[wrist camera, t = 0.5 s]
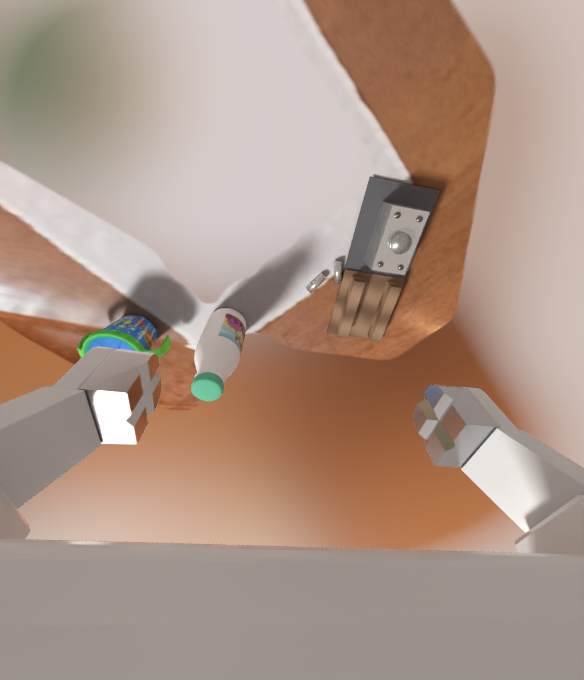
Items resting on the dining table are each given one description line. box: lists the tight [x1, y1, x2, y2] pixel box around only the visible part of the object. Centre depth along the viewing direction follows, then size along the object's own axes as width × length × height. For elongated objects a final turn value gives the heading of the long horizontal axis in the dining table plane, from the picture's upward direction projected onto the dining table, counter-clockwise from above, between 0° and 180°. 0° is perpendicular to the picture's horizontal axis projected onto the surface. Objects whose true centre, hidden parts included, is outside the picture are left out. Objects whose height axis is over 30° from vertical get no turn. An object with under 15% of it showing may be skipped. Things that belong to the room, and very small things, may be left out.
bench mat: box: [343, 177, 440, 278], centre depth 48 cm, size 16×12×1 cm
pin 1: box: [306, 273, 326, 293], centre depth 52 cm, size 4×1×1 cm
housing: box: [364, 201, 430, 275], centre depth 45 cm, size 10×6×6 cm, turn 171°
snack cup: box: [77, 315, 170, 358], centre depth 52 cm, size 16×10×10 cm
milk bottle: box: [191, 308, 246, 401], centre depth 48 cm, size 8×8×20 cm
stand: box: [327, 269, 406, 342], centre depth 54 cm, size 14×12×3 cm
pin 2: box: [334, 260, 342, 284], centre depth 51 cm, size 4×1×1 cm, turn 4°
